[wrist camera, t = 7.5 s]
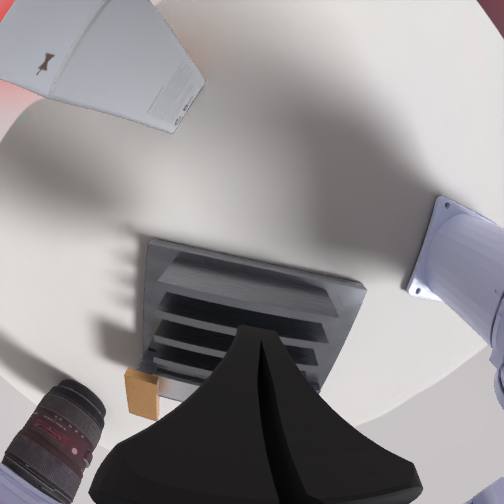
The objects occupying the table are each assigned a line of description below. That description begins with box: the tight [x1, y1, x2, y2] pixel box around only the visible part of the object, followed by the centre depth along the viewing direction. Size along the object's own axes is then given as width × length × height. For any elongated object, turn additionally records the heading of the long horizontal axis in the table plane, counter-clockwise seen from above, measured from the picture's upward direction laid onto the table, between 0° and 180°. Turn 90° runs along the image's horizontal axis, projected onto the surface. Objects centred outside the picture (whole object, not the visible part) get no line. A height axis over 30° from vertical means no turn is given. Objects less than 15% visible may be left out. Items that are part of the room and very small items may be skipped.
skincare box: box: [0, 0, 205, 134], centre depth 9 cm, size 6×4×12 cm
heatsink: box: [124, 238, 367, 421], centre depth 18 cm, size 15×14×5 cm
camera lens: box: [1, 380, 106, 504], centre depth 17 cm, size 8×8×15 cm
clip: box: [136, 359, 206, 401], centre depth 18 cm, size 8×2×4 cm, turn 77°
